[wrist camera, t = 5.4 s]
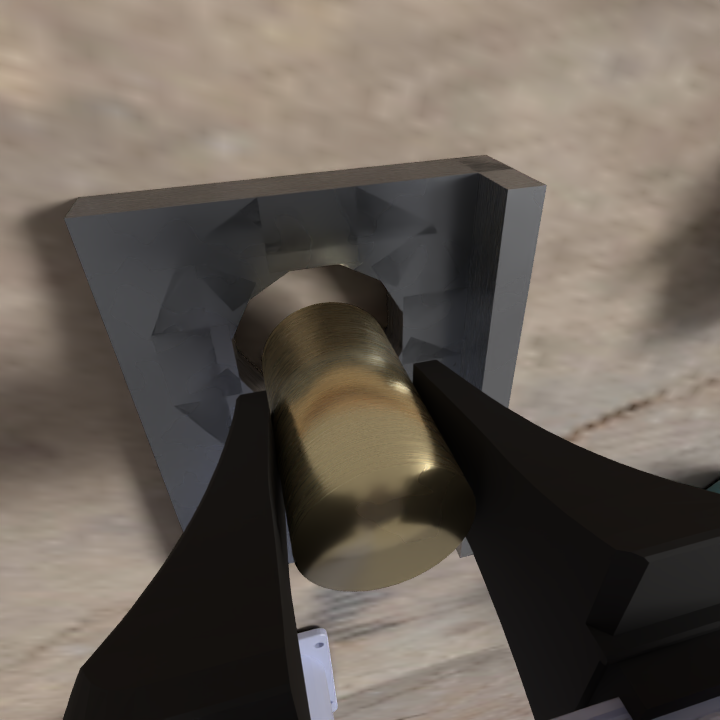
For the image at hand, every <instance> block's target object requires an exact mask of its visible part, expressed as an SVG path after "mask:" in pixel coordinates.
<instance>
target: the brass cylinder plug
mask: <svg viewBox="0 0 720 720" xmlns="http://www.w3.org/2000/svg"><path fill="white" fill-rule="evenodd" d="M262 370H263V376H264V382H265V388H266V392H267V398H268V403H269V409H270V414H271V420H272V426H273V432H274V438H275V445H276V454H277V462H278V469H279V475H280V481H281V487H282V493H283V499H284V506H285V512H286V518H287V524H288V530H289V536H290V543H291V549H292V555H293V559H294V562H295V565H296V567H297V568H298V570H299V571H300V573H301V574H302V575H303V576H304V577H305V578H307V579H308V580H309V581H311V582H313V583H315V584H316V585H319V586H321V587H324V588H328V589H332V590H337V591H350V592H357V591H369V590H376V589H381V588H385V587H389V586H392V585H396V584H399V583H402V582H404V581H407V580H409V579H412V578H414V577H416V576H418V575H420V574H422V573H424V572H426V571H427V570H429V569H431V568H432V567H434V566H435V565H437V564H438V563H440V562H441V561H442V560H444V559H445V558H446V557H447V556H448V555H449V554H451V553H452V552H453V551H454V550H455V549H456V548H457V547H458V545H459V544H460V543H461V542H462V541H463V539H464V538H465V537H466V535H467V533H468V532H469V530H470V528H471V526H472V523H473V521H474V517H475V513H476V501H475V496H474V493H473V491H472V489H471V487H470V485H469V483H468V482H467V480H466V478H465V476H464V475H463V473H462V471H461V469H460V467H459V466H458V464H457V462H456V460H455V458H454V457H453V455H452V453H451V451H450V449H449V448H448V446H447V444H446V442H445V440H444V439H443V437H442V435H441V433H440V432H439V430H438V428H437V426H436V424H435V423H434V421H433V419H432V417H431V415H430V414H429V412H428V410H427V408H426V406H425V405H424V403H423V401H422V399H421V397H420V396H419V394H418V392H417V390H416V389H415V387H414V385H413V383H412V381H411V380H410V378H409V376H408V374H407V372H406V371H405V369H404V367H403V365H402V363H401V362H400V360H399V358H398V356H397V354H396V353H395V351H394V349H393V347H392V345H391V344H390V342H389V340H388V338H387V337H386V335H385V333H384V331H383V329H382V328H381V326H380V324H379V323H378V322H377V321H376V320H375V318H374V317H372V316H371V315H370V314H369V313H367V312H366V311H364V310H363V309H361V308H358V307H356V306H353V305H350V304H345V303H338V302H327V303H319V304H314V305H311V306H308V307H305V308H302V309H300V310H298V311H296V312H294V313H293V314H291V315H289V316H288V317H287V318H285V319H284V320H283V321H282V322H281V323H280V324H279V325H278V326H277V327H276V328H275V329H274V330H273V332H272V333H271V335H270V336H269V338H268V340H267V342H266V344H265V347H264V350H263V355H262Z"/></svg>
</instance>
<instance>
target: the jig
mask: <svg viewBox="0 0 720 720" xmlns="http://www.w3.org/2000/svg"><path fill="white" fill-rule="evenodd" d="M546 186H547V185H545V184H543V183H541V182H539V181H537V180H535V179H533V178H531V177H529V176H527V175H525V174H523V173H521V172H519V171H517V170H515V169H513V168H511V167H509V166H507V165H505V164H503V163H501V162H499V161H497V160H495V159H493V158H491V157H489V156H487V155H483V156H473V157H463V158H454V159H444V160H435V161H425V162H415V163H406V164H396V165H387V166H377V167H367V168H358V169H348V170H339V171H329V172H319V173H310V174H300V175H291V176H281V177H271V178H262V179H252V180H243V181H233V182H224V183H214V184H204V185H195V186H185V187H176V188H166V189H156V190H147V191H137V192H128V193H118V194H108V195H99V196H89V197H80V198H78V199H77V200H76V202H75V203H74V205H73V206H72V208H71V209H70V211H69V212H68V213H67V215H66V216H65V218H64V220H65V222H66V225H67V228H68V230H69V233H70V235H71V238H72V241H73V243H74V246H75V249H76V251H77V254H78V256H79V259H80V262H81V264H82V267H83V270H84V272H85V275H86V278H87V280H88V283H89V285H90V288H91V291H92V293H93V296H94V299H95V301H96V304H97V307H98V309H99V312H100V314H101V317H102V320H103V322H104V325H105V328H106V330H107V333H108V335H109V338H110V341H111V343H112V346H113V349H114V351H115V354H116V357H117V359H118V362H119V364H120V367H121V370H122V372H123V375H124V378H125V380H126V383H127V385H128V388H129V391H130V393H131V396H132V399H133V401H134V404H135V407H136V409H137V412H138V414H139V417H140V420H141V422H142V425H143V428H144V430H145V433H146V435H147V438H148V441H149V443H150V446H151V449H152V451H153V454H154V457H155V459H156V462H157V464H158V467H159V470H160V472H161V475H162V478H163V480H164V483H165V485H166V488H167V491H168V493H169V496H170V499H171V501H172V504H173V507H174V509H175V512H176V514H177V517H178V520H179V522H180V525H181V528H182V530H183V532H184V531H185V529H186V527H187V526H188V524H189V522H190V520H191V518H192V517H193V515H194V513H195V511H196V509H197V507H198V505H199V503H200V501H201V499H202V497H203V495H204V493H205V491H206V489H207V487H208V484H209V482H210V480H211V478H212V475H213V473H214V471H215V469H216V466H217V464H218V461H219V459H220V456H221V453H222V450H223V448H224V445H225V442H226V439H227V436H228V433H229V430H230V426H231V423H232V419H233V415H234V410H235V405H236V399H237V398H238V397H239V396H240V395H242V394H247V393H253V392H258V391H264V390H266V388H265V382H264V376H263V375H262V374H261V373H260V372H259V371H258V370H257V369H256V368H255V367H254V366H253V365H252V364H251V363H250V362H249V361H248V360H247V359H246V358H245V357H244V356H243V355H242V354H241V353H240V352H239V351H237V348H236V343H235V338H234V334H235V331H236V329H237V327H238V325H239V322H240V320H241V318H242V315H243V313H244V311H245V308H246V306H247V304H248V301H249V300H250V299H251V298H253V297H254V296H255V295H257V294H258V293H260V292H261V291H262V290H264V289H265V288H266V287H268V286H269V285H271V284H272V283H273V282H275V281H276V280H278V279H279V278H280V277H282V276H283V275H284V274H286V273H287V272H289V271H293V270H300V269H307V268H315V267H322V266H329V265H336V264H340V265H342V266H345V267H348V268H350V269H353V270H355V271H358V272H360V273H363V274H365V275H368V276H370V277H373V278H375V279H378V280H380V281H381V282H382V283H383V285H384V286H385V287H386V289H387V300H388V326H387V327H386V329H385V331H384V333H385V335H386V337H387V338H388V340H389V342H390V344H391V345H392V347H393V349H394V351H395V353H396V354H397V356H398V358H399V360H400V362H401V363H402V365H403V367H404V369H405V371H406V372H407V374H408V376H409V378H410V380H411V381H412V383H413V364H414V363H419V362H425V361H430V360H438V361H439V362H441V363H442V364H444V365H445V366H447V367H448V368H450V369H451V370H452V371H454V372H455V373H457V374H458V375H459V376H461V377H462V378H464V379H465V380H466V381H468V382H469V383H471V384H472V385H474V386H475V387H476V388H478V389H479V390H481V391H482V392H484V393H485V394H487V395H488V396H490V397H491V398H493V399H494V400H496V401H497V402H499V403H500V404H502V405H503V406H505V407H507V408H508V406H509V400H510V394H511V389H512V383H513V377H514V371H515V365H516V360H517V354H518V348H519V342H520V336H521V331H522V325H523V319H524V313H525V307H526V302H527V296H528V290H529V284H530V279H531V273H532V267H533V261H534V255H535V250H536V244H537V238H538V232H539V226H540V221H541V215H542V209H543V203H544V197H545V192H546ZM285 517H286V512H285ZM286 533H287V549H288V564H289V563H293V562H294V559H293V555H292V549H291V543H290V536H289V530H288V524H287V518H286ZM456 550H457V552H458V554H459V557H460V558H462V557H466V556H469V555H473V552H472V550H471V547H470V545H469V543H468V541H467V539H466V537H465V538H464V539H463V541H462V542H461V543H460V544H459V545H458V547H457V548H456Z"/></svg>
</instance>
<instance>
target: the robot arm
mask: <svg viewBox="0 0 720 720" xmlns="http://www.w3.org/2000/svg"><path fill="white" fill-rule="evenodd" d="M413 385H414V387H415V389H416V390H417V392H418V394H419V396H420V397H421V399H422V401H423V403H424V405H425V406H426V408H427V410H428V412H429V414H430V415H431V417H432V419H433V421H434V423H435V424H436V426H437V428H438V430H439V432H440V433H441V435H442V437H443V439H444V440H445V442H446V444H447V446H448V448H449V449H450V451H451V453H452V455H453V457H454V458H455V460H456V462H457V464H458V466H459V467H460V469H461V471H462V473H463V475H464V476H465V478H466V480H467V482H468V483H469V485H470V487H471V489H472V491H473V493H474V496H475V501H476V513H475V517H474V521H473V523H472V526H471V528H470V530H469V532H468V533H467V535H466V539H467V541H468V543H469V545H470V547H471V550H472V552H473V554H474V557H475V559H476V562H477V564H478V567H479V569H480V571H481V574H482V576H483V579H484V581H485V584H486V586H487V589H488V591H489V594H490V596H491V599H492V602H493V604H494V607H495V609H496V612H497V614H498V617H499V619H500V622H501V625H502V628H503V630H504V633H505V636H506V638H507V641H508V644H509V647H510V649H511V652H512V655H513V658H514V660H515V663H516V666H517V669H518V672H519V674H520V677H521V680H522V683H523V686H524V689H525V692H526V695H527V698H528V701H529V704H530V707H531V710H532V713H533V716H534V719H535V720H720V494H719V493H715V492H712V491H708V490H704V489H700V488H697V487H693V486H689V485H685V484H682V483H678V482H674V481H671V480H668V479H665V478H662V477H659V476H656V475H653V474H649V473H646V472H643V471H640V470H637V469H635V468H632V467H629V466H626V465H624V464H621V463H618V462H616V461H613V460H611V459H608V458H606V457H603V456H601V455H598V454H596V453H593V452H591V451H589V450H586V449H584V448H582V447H579V446H577V445H575V444H573V443H571V442H569V441H567V440H565V439H563V438H561V437H559V436H557V435H555V434H553V433H550V432H548V431H547V430H545V429H543V428H541V427H539V426H537V425H535V424H534V423H532V422H530V421H528V420H527V419H525V418H523V417H522V416H520V415H518V414H517V413H515V412H513V411H511V410H510V409H508V408H507V407H505V406H503V405H502V404H500V403H499V402H497V401H496V400H494V399H493V398H491V397H490V396H488V395H487V394H485V393H484V392H482V391H481V390H479V389H478V388H476V387H475V386H474V385H472V384H471V383H469V382H468V381H466V380H465V379H464V378H462V377H461V376H459V375H458V374H457V373H455V372H454V371H452V370H451V369H450V368H448V367H447V366H445V365H444V364H442V363H441V362H439V361H438V360H430V361H425V362H419V363H414V364H413ZM337 707H338V706H337V699H336V692H335V685H334V678H333V671H332V664H331V657H330V651H329V644H328V637H327V632H326V630H325V629H323V628H316V629H313V630H309V631H305V632H301V633H298V634H297V628H296V622H295V615H294V609H293V603H292V596H291V588H290V578H289V565H288V549H287V533H286V517H285V506H284V499H283V493H282V487H281V481H280V475H279V469H278V462H277V454H276V445H275V438H274V432H273V426H272V420H271V414H270V409H269V403H268V398H267V392H266V390H264V391H258V392H253V393H247V394H242V395H240V396H239V397H238V398H237V399H236V405H235V410H234V415H233V419H232V423H231V426H230V430H229V433H228V436H227V439H226V442H225V445H224V448H223V450H222V453H221V456H220V459H219V461H218V464H217V466H216V469H215V471H214V473H213V475H212V478H211V480H210V482H209V484H208V487H207V489H206V491H205V493H204V495H203V497H202V499H201V501H200V503H199V505H198V507H197V509H196V511H195V513H194V515H193V517H192V518H191V520H190V522H189V524H188V526H187V527H186V529H185V531H184V532H183V534H182V536H181V537H180V539H179V540H178V542H177V544H176V545H175V547H174V549H173V550H172V552H171V553H170V555H169V556H168V558H167V559H166V561H165V563H164V564H163V565H162V567H161V568H160V570H159V571H158V573H157V574H156V575H155V577H154V578H153V580H152V581H151V582H150V584H149V585H148V586H147V588H146V589H145V590H144V592H143V593H142V594H141V596H140V597H139V598H138V600H137V601H136V602H135V604H134V605H133V607H132V608H131V609H130V610H129V612H128V613H127V614H126V615H125V617H124V618H123V619H122V621H121V622H120V623H119V624H118V625H117V626H116V628H115V629H114V630H113V631H112V632H111V633H110V635H109V636H108V637H107V638H106V639H105V640H104V642H103V643H102V644H101V645H100V646H99V647H98V649H97V650H96V651H95V652H94V653H93V654H92V656H91V657H90V658H89V659H88V660H87V661H86V663H85V664H84V665H83V666H82V667H81V668H80V670H79V673H78V676H77V678H76V681H75V684H74V687H73V689H72V692H71V695H70V698H69V702H68V705H67V708H66V711H65V714H64V717H63V720H334V717H333V712H334V711H336V710H337Z"/></svg>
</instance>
